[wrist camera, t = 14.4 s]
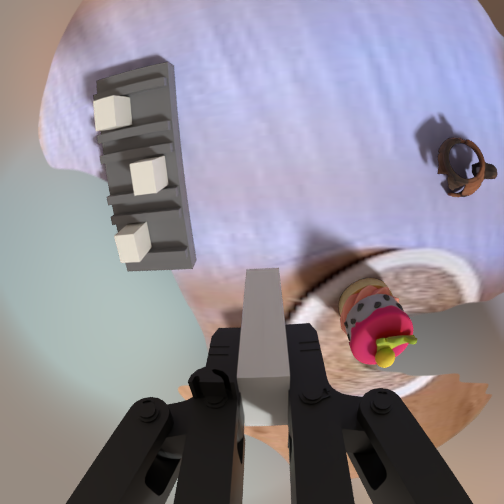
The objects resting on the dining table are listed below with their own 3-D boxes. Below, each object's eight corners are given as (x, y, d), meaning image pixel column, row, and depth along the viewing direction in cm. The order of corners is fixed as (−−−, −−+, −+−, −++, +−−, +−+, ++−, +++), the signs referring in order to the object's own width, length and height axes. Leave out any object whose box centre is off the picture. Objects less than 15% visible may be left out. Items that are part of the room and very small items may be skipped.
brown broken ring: (433, 202, 42) (446, 192, 34) (423, 148, 42) (433, 130, 34) (490, 198, 37) (510, 189, 30) (479, 147, 38) (496, 130, 30)
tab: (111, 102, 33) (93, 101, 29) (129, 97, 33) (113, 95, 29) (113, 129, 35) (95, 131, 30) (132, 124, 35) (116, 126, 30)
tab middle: (144, 158, 37) (129, 164, 32) (164, 155, 37) (151, 160, 32) (148, 186, 38) (134, 195, 34) (168, 184, 38) (156, 192, 34)
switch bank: (105, 82, 35) (90, 80, 31) (173, 65, 34) (164, 59, 30) (133, 263, 47) (123, 275, 43) (196, 259, 46) (190, 273, 42)
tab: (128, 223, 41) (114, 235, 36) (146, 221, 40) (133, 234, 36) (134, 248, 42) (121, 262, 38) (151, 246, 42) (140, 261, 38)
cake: (386, 321, 51) (414, 378, 37) (334, 328, 52) (352, 390, 38) (395, 273, 47) (433, 326, 33) (338, 278, 47) (363, 338, 34)
